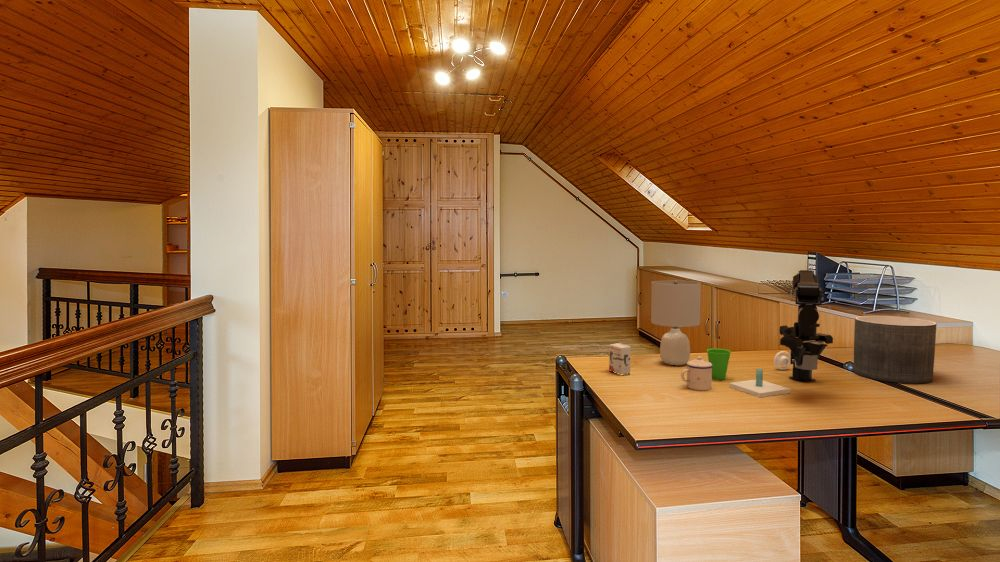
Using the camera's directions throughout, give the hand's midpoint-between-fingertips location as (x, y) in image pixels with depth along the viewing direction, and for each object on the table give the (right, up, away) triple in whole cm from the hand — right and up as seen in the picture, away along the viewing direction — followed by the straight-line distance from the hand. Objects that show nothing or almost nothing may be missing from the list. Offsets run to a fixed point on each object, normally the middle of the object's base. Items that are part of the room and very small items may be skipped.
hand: (805, 364), depth 179 cm
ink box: (-57, -9, +34) cm, 67 cm away
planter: (+49, -9, +25) cm, 55 cm away
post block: (-12, -11, +8) cm, 18 cm away
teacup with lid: (-34, -11, +12) cm, 37 cm away
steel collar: (0, -1, 0) cm, 1 cm away
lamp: (-29, -8, +49) cm, 57 cm away
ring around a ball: (+11, -8, +37) cm, 39 cm away
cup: (-20, -10, +24) cm, 33 cm away
